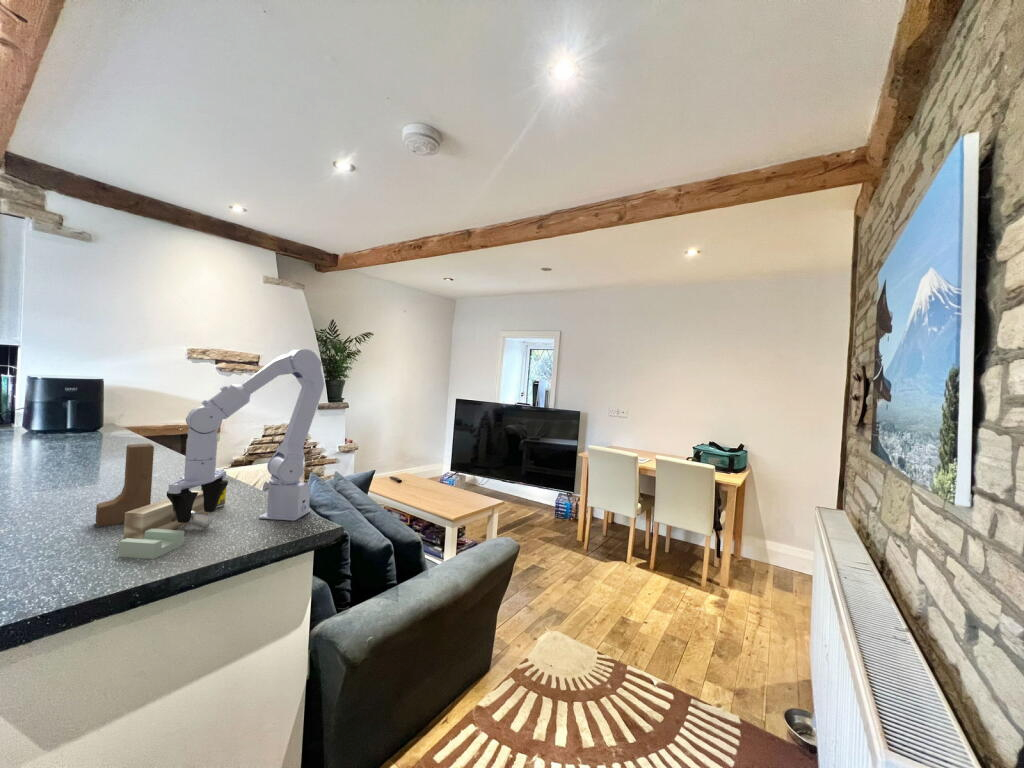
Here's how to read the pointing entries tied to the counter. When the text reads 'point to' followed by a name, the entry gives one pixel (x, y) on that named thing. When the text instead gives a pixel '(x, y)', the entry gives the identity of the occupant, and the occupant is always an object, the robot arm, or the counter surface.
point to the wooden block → (130, 486)
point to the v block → (151, 544)
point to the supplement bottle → (223, 495)
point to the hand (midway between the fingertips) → (197, 516)
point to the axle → (197, 519)
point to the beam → (156, 517)
